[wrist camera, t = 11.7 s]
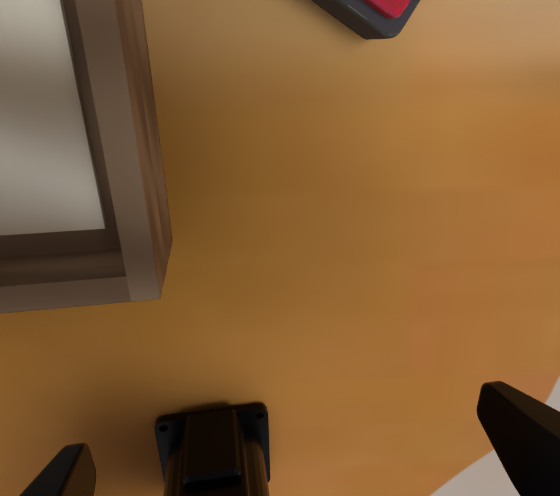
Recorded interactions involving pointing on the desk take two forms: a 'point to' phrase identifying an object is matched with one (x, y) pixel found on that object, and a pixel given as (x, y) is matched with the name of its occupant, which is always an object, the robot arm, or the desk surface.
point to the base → (79, 157)
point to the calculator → (371, 15)
